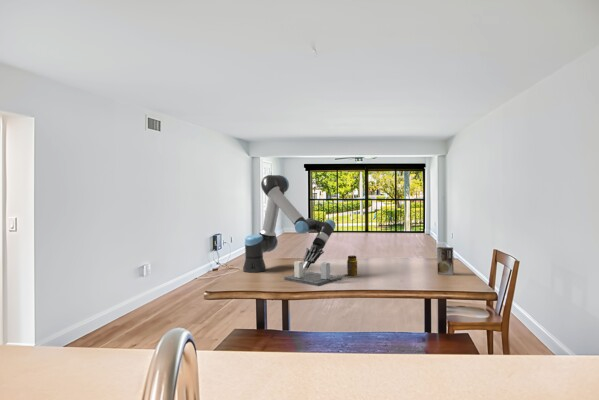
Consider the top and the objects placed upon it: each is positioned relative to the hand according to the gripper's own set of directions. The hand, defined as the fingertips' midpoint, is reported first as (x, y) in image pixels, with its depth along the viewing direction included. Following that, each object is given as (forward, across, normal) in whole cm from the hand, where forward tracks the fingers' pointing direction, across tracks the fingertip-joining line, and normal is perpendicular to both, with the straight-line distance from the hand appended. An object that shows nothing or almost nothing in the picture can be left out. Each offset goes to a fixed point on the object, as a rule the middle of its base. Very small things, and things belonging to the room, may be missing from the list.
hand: (302, 271), depth 256 cm
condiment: (-15, -16, -22) cm, 31 cm away
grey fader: (0, -15, -5) cm, 15 cm away
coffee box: (-43, -58, -50) cm, 88 cm away
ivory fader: (+4, 0, 0) cm, 4 cm away
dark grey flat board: (+1, -6, -5) cm, 8 cm away
